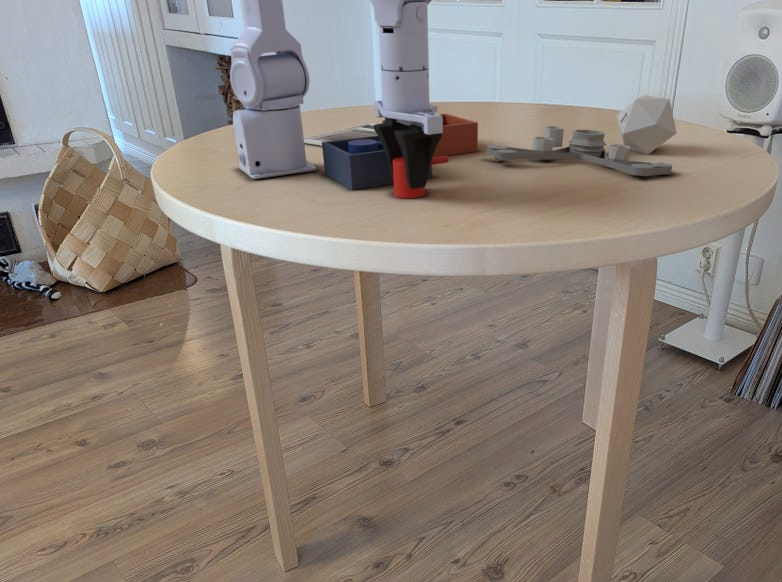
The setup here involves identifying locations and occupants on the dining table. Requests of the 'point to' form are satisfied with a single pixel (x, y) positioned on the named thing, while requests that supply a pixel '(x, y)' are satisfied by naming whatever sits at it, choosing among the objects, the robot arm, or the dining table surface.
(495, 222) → the dining table surface
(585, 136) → the pulley system
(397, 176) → the red scoop
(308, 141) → the grey striped panel
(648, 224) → the dining table surface
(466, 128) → the red bin
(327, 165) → the blue bin
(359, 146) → the blue scoop
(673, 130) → the die
